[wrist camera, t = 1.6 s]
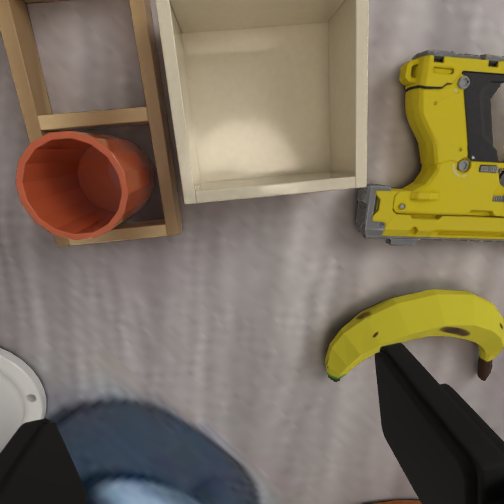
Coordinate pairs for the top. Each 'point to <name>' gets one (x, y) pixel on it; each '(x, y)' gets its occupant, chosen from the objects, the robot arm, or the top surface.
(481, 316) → the banana
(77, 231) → the cup
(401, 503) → the bread
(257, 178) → the open wooden box
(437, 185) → the toy gun
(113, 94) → the top surface
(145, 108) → the rack
